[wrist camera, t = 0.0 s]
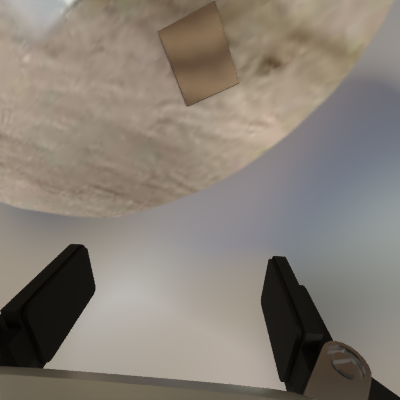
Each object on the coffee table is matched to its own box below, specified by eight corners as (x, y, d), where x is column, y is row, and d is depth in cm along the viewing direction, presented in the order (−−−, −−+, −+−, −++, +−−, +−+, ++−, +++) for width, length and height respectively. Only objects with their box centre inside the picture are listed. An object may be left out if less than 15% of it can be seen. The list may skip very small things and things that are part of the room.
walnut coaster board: (159, 33, 33) (158, 31, 32) (214, 4, 31) (214, 0, 30) (188, 106, 37) (187, 106, 36) (238, 83, 35) (239, 82, 34)
